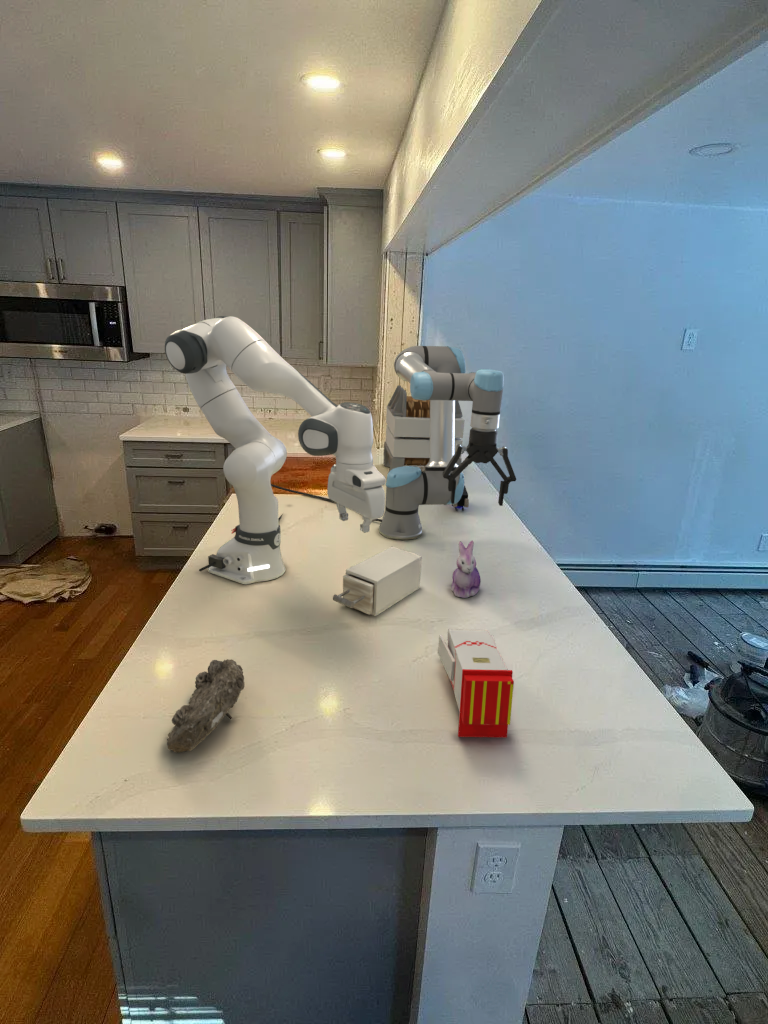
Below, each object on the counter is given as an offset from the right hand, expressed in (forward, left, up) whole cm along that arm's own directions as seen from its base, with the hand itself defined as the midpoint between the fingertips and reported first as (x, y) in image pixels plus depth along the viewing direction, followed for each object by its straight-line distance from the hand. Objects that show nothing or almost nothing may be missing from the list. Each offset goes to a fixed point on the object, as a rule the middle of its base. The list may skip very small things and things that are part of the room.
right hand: (476, 503), depth 160 cm
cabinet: (-7, -27, -24) cm, 37 cm away
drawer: (-6, -32, -23) cm, 40 cm away
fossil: (+10, -85, -24) cm, 89 cm away
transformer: (-91, +68, -24) cm, 116 cm away
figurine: (+5, -7, -24) cm, 25 cm away
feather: (-75, -19, -24) cm, 81 cm away
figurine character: (-46, +46, -24) cm, 70 cm away
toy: (+35, -40, -24) cm, 58 cm away
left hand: (-6, -39, 0) cm, 39 cm away
